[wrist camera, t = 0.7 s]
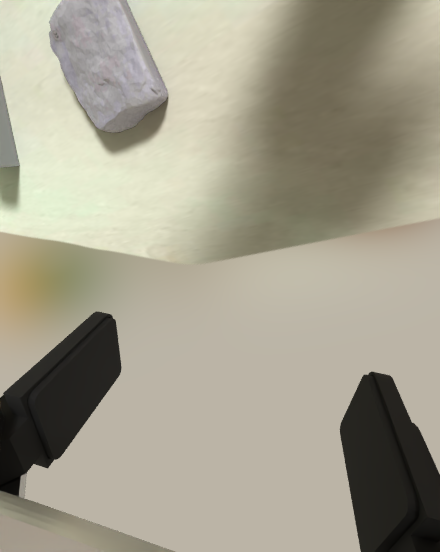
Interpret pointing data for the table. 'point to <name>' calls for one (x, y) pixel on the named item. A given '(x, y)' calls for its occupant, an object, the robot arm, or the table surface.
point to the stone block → (106, 62)
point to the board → (6, 136)
